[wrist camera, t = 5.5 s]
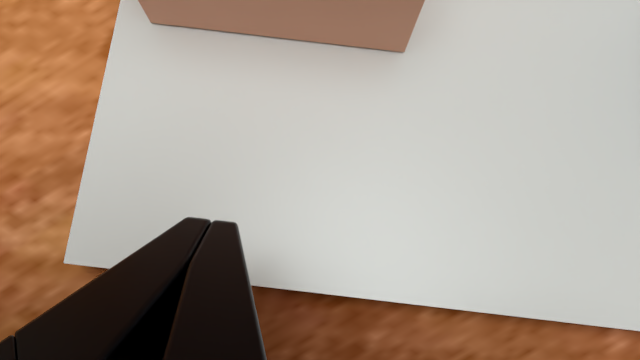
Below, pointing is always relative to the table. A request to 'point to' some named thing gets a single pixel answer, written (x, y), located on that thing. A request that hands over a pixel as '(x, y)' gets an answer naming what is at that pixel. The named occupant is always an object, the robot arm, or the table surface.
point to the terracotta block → (298, 19)
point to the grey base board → (388, 157)
